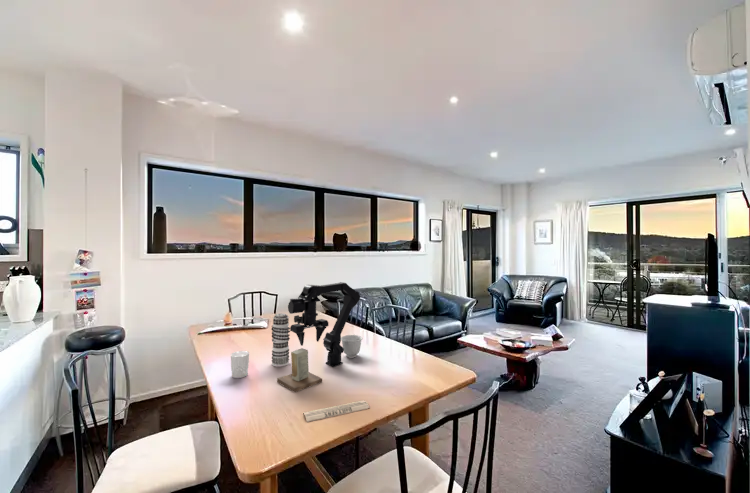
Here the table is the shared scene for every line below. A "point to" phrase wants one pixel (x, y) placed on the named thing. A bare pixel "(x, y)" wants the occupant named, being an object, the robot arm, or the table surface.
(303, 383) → the walnut block
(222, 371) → the table surface
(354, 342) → the teacup
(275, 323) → the decorative candle
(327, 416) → the newspaper
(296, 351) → the skincare box
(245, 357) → the white cup
